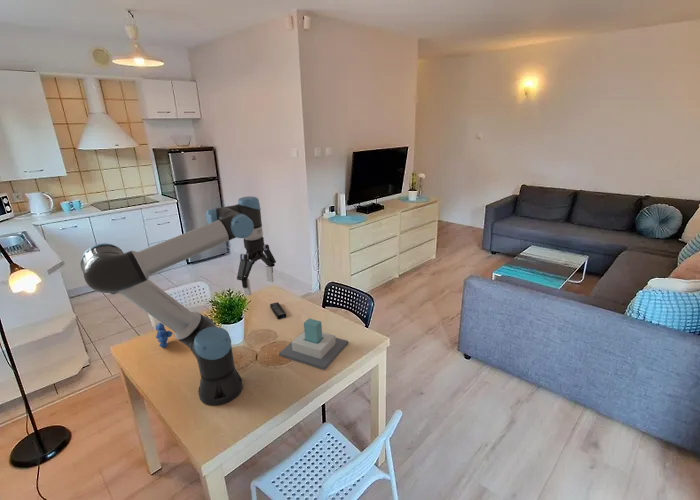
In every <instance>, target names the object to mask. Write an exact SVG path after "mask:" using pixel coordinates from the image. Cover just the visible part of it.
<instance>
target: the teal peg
mask: <svg viewBox="0 0 700 500" xmlns="http://www.w3.org/2000/svg"><path fill="white" fill-rule="evenodd" d="M303 332H305V341H309V342H312V343H316V344H318V343H319V342H320V341H321V340H322V332H323V329H322V321H320V320H316V319H313V318H308V319H307V320H305V321H304V322H303Z"/></svg>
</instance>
